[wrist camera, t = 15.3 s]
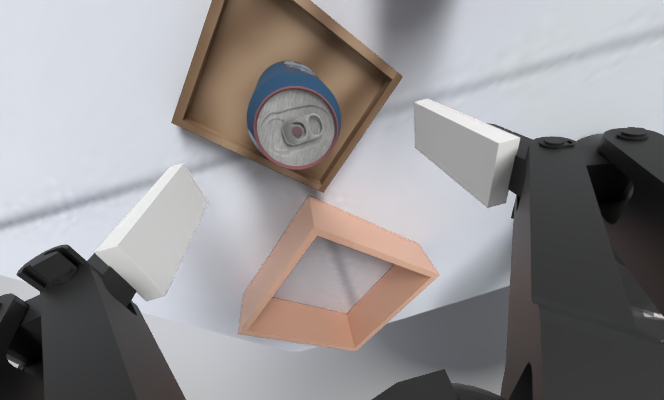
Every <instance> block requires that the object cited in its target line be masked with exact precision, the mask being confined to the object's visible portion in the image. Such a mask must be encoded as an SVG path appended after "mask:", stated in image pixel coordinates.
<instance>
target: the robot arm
mask: <svg viewBox="0 0 664 400" xmlns="http://www.w3.org/2000/svg"><path fill="white" fill-rule="evenodd" d="M414 124H415V148H416V149H417V150H418V151H420V152H421V153H422V154H423V155H424V156H426V157H427V158H428V159H429V160H430V161H432V162H433V163H434V164H435V165H437V166H438V167H439V168H440V169H441V170H443V171H444V172H445V173H446V174H447V175H449V176H450V177H451V178H452V179H453V180H455V181H456V182H457V183H458V184H459V185H461V186H462V187H463V188H464V189H465V190H467V191H468V192H469V193H470V194H471V195H473V196H474V197H475V198H476V199H477V200H479V201H480V202H481V203H482V204H483V205H485V206H486V207H487V208H489V207H493V206H496V205H500V204H503V203H506V200H507V196H508V191H509V190H510V191H512V192H513V193H515V194H516V195H517V196H516V200H515V204H514V208H513V212H512V216H511V218H513V219H514V224H513V242H512V260H511V278H510V295H509V313H508V314H509V315H508V333H507V349H506V364H505V372H504V377H503V382H502V388H501V396H499V395H496V394H494V393H492V392H489V391H487V390H484V389H480V388H477V387H474V386H470V385H464V384H459V383H458V384H457V383H451V382H450V380H449V378H448V376H447V374H446V372H445V370H444V369H443V370H440V371H436V372H433V373H429V374H426V375H422V376H419V377H415V378H412V379H409V380H405V381H401V382H398V383H396V384H394V385H393V386H391V387H390V388H388V389H387V390H385V391H384V392H382V393H381V394H380V395H378V396H377V397H375V398H374V399H372V400H664V136H663V135H662V134H659V133H657V132H654V131H650V130H645V129H644V128H636V127H628V128H619V129H611V130H609V131H606V132H605V133H604V134H596V135H592V136H588V137H586V138H583V139H581V140H579V141H577V142H576V141H574V140H571V139H568V138H563V137H541V138H536V139H534V140H532V139H530V138H527V137H525V136H522V135H520V134H517V133H515V132H512V131H510V130H507V129H504V128H502V127H500V126H497V125H495V124H489V123H484V122H482V121H480V120H477V119H475V118H472V117H470V116H468V115H465V114H463V113H460V112H458V111H456V110H453V109H451V108H448V107H446V106H444V105H441V104H439V103H436V102H434V101H432V100H429V99H424V100H420V101H416V102H414ZM207 205H208V202H207V200H206V198H205V197H204V195H203V193H202V192H201V190H200V188H199V187H198V185H197V183H196V182H195V180H194V179H193V177H192V175H191V174H190V172H189V170H188V169H187V167H186V165H185V164H184V163H182V164H178V165H174V166H171V167H170V168H169V169H168V170H167V171H166V172H165V173H164V174H163V175H162V177H161V178H160V179H159V180H158V181H157V182H156V183H155V184H154V186H153V187H152V188H151V189H150V190H149V191H148V192H147V193H146V195H145V196H144V197H143V198H142V199H141V200H140V201H139V202H138V203H137V205H136V206H135V207H134V208H133V209H132V210H131V211H130V212H129V214H128V215H127V216H126V217H125V218H124V219H123V220H122V221H121V223H120V224H119V225H118V226H117V227H116V228H115V229H114V230H113V232H112V233H111V234H110V235H109V236H108V237H107V238H106V239H105V241H104V242H103V243H102V244H101V245H100V246H99V247H98V248H97V250H96V251H95V252H94V254H93V255H92V256H91V258H90V259H89V260H88V261H86V260H85V259H84V258H82V257H81V256H80V255H79V254H78V253H77V252H76V251H75V250H73V249H72V248H71V247H70V246H69V245H60V246H57V247H54V248H52V249H50V250H47V251H45V252H43V253H41V254H40V255H38V256H36V257H35V258H33V259H32V260H30V261H29V262H28V263H26V264H25V265H24V266H23V267H22V268H21V269H20V270H19V271H18V273H17V276H19V277H20V278H22V279H23V280H24V281H26V282H27V283H29V284H30V285H32V286H33V287H35V288H36V289H37V290H39V291H40V295H38V296H36V297H34V298H32V299H29V300H27V301H25V302H24V301H23V300H21V299H20V298H18V297H17V296H15V295H13V294H5V295H2V296H0V400H186V399H185V397H184V395H183V393H182V391H181V389H180V387H179V385H178V383H177V381H176V379H175V378H174V376H173V374H172V372H171V370H170V368H169V366H168V364H167V362H166V360H165V358H164V356H163V354H162V352H161V351H160V349H159V347H158V345H157V343H156V341H155V339H154V337H153V335H152V333H151V331H150V329H149V327H148V325H147V324H146V322H145V320H144V318H143V316H142V314H141V312H140V310H139V308H138V306H137V305H135V304H134V303H133V302H132V301H131V300H132V298H133V296H134V295H135V293H136V292H137V293H138V294H139V295H140V296H141V297H142V298H143V299H144V300H146V301H149V300H152V299H156V298H160V297H163V296H166V294H167V292H168V289H169V287H170V285H171V283H172V281H173V279H174V276H175V274H176V272H177V270H178V268H179V266H180V263H181V261H182V259H183V257H184V255H185V253H186V250H187V248H188V246H189V244H190V242H191V240H192V237H193V235H194V233H195V231H196V229H197V227H198V224H199V222H200V220H201V218H202V216H203V214H204V211H205V209H206V207H207ZM8 360H10V361H12V362H14V363H16V364H19V366H18V368H16V367H14V366H12V365H11V364H10V363H9V362H8Z"/></svg>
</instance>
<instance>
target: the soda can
mask: <svg viewBox="0 0 664 400" xmlns="http://www.w3.org/2000/svg"><path fill="white" fill-rule="evenodd" d="M247 127H248V131H249V135H250V137H251V139H252V141H253V143H254V145H255V146H256V147H257V149H258V150H259V151H260V152H261V153H262V154H263V155H264V156H265V157H266V158H268V159H269V160H270V161H271V162H273V163H274V164H276V165H278V166H280V167H283V168H286V169H291V170H302V169H307V168H310V167H313V166H315V165H317V164H319V163H320V162H322V161H323V160H324V159H325V158H326V157H327V156H328V155H329V154H330V153H331V151H332V150H333V148H334V146H335V144H336V142H337V140H338V137H339V134H340V130H341V112H340V108H339V105H338V102H337V100H336V98H335V96H334V95H333V93H332V92H331V91H330V89H329V88H328V87H327V86H326V85H325V84H324V83H323V82H322V81H321V80H320V79H319V77H318V76H317V75H316V74H315V73H314V72H313V71H312V70H311V69H310V68H308V67H307V66H305V65H303V64H301V63H299V62H295V61H281V62H277V63H275V64H273V65H271V66H270V67H268V68H267V69H266V70H265V71H264V72H263V73H262V75H261V76H260V78H259V80H258V83H257V85H256V87H255V90H254V92H253V95H252V97H251V100H250V102H249V105H248V109H247Z"/></svg>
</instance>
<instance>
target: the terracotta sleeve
mask: <svg viewBox="0 0 664 400" xmlns="http://www.w3.org/2000/svg"><path fill="white" fill-rule="evenodd" d="M317 236H320V237H323V238H325V239H328V240H331V241H333V242H336V243H339V244H342V245H344V246H347V247H350V248H352V249H355V250H358V251H361V252H363V253H366V254H369V255H371V256H374V257H377V258H380V259H382V260H385V261H388V262H390V263H393V264H394V265H393V266H392V267H391V268H390V269H389V270H388V272H387V273H386V274H385V275H384V276H383V277H382V278H381V279H380V280H379V281H378V282H377V283H376V284H375V285H374V286H373V287H372V288H371V289H370V290H369V291H368V292H367V293H366V294H365V295H364V296H363V297H362V298H361V300H360V301H359V302H358V303H357V304H356V305H355V306H354V307H353V308H352V309H351V310H350V311H349V312H348V313H347V314H344V313H339V312H335V311H331V310H326V309H322V308H317V307H313V306H308V305H304V304H299V303H295V302H291V301H286V300H282V299H277V298H273V297H272V296H273V295H274V294H275V292H276V291H277V290H278V288H279V287H280V286H281V284H282V283H283V281H284V280H285V279H286V277H287V276H288V275H289V273H290V272H291V271H292V269H293V268H294V267H295V265H296V264H297V262H298V261H299V260H300V258H301V257H302V256H303V254H304V253H305V252H306V250H307V249H308V248H309V246H310V245H311V243H312V242H313V241H314V239H315V238H316V237H317ZM438 276H439V273H438V272H437V270H436V269H435V267H434V266H433V264H432V263H431V261H430V260H429V258H428V257H427V255H426V254H425V252H424V251H423V249H422V248H421V246H420V245H419V244H417V243H415V242H413V241H411V240H408V239H406V238H404V237H401V236H399V235H397V234H395V233H392V232H390V231H388V230H386V229H383V228H381V227H379V226H376V225H374V224H372V223H370V222H367V221H365V220H363V219H360V218H358V217H356V216H354V215H351V214H349V213H347V212H345V211H342V210H340V209H338V208H335V207H333V206H331V205H329V204H326V203H324V202H322V201H320V200H317V199H315V198H313V197H310V196H308V197H307V199H306V200H305V202H304V203H303V205H302V206H301V208H300V209H299V211H298V212H297V214H296V215H295V217H294V218H293V220H292V222H291V223H290V225H289V226H288V228H287V229H286V231H285V232H284V234H283V235H282V237H281V238H280V240H279V241H278V243H277V244H276V246H275V247H274V249H273V250H272V252H271V253H270V255H269V256H268V258H267V259H266V261H265V263H264V264H263V266H262V267H261V269H260V270H259V272H258V273H257V275H256V276H255V278H254V279H253V281H252V282H251V284H250V285H249V287H248V288H247V290H246V291H245V293H244V294H243V300H242V307H241V315H240V322H239V330H238V334H242V335H249V336H256V337H262V338H269V339H276V340H282V341H289V342H296V343H303V344H309V345H316V346H323V347H329V348H336V349H343V350H350V351H357V350H358V349H359V348H360V347H361V346H362V345H363V344H364V343H366V342H367V341H368V340H369V339H370V338H371V337H372V336H373V335H374V334H376V333H377V332H378V331H379V330H380V329H381V328H382V327H383V326H384V325H385V324H387V323H388V322H389V321H390V320H391V319H392V318H393V317H394V316H395V315H396V314H398V313H399V312H400V311H401V310H402V309H403V308H404V307H405V306H406V305H407V304H409V303H410V302H411V301H412V300H413V299H414V298H415V297H416V296H417V295H418V294H419V293H421V292H422V291H423V290H424V289H425V288H426V287H427V286H428V285H429V284H430V283H432V282H433V281H434V280H435V279H436V278H437V277H438Z"/></svg>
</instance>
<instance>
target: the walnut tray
mask: <svg viewBox="0 0 664 400" xmlns="http://www.w3.org/2000/svg"><path fill="white" fill-rule="evenodd" d="M281 61H295V62H299V63H301V64H303V65H305V66H307V67H308V68H310V69H311V70H312V71H313V72H314V73H315V74H316V75H317V76H318V77H319V79H320V80H321V81H322V82H323V83H324V84H325V85H326V86H327V87H328V88H329V89H330V91H331V92H332V93H333V95H334V96H335V98H336V100H337V102H338V105H339V108H340V112H341V130H340V134H339V137H338V140H337V142H336V144H335V146H334V148H333V150H332V151H331V153H330V154H329V155H328V156H327V157H326V158H325V159H324V160H323V161H322V162H320V163H319V164H317V165H315V166H313V167H310V168H307V169H302V170H291V169H286V168H283V167H280V166H278V165H276V164H274V163H273V162H271V161H270V160H269V159H268V158H266V157H265V156H264V155H263V154H262V153H261V152H260V151H259V150H258V149H257V147H256V146H255V145H254V143H253V141H252V139H251V137H250V135H249V131H248V127H247V109H248V105H249V102H250V100H251V97H252V95H253V92H254V90H255V87H256V85H257V83H258V80H259V78H260V76H261V75H262V73H263V72H264V71H265V70H266V69H267V68H268V67H270V66H271V65H273V64H275V63H277V62H281ZM402 77H403V76H401V75H400V74H399V73H398V72H397V71H395V70H394V69H393V68H392V67H390V66H389V65H388V64H387V63H386V62H384V61H383V60H382V59H381V58H380V57H378V56H377V55H376V54H375V53H373V52H372V51H371V50H370V49H369V48H367V47H366V46H365V45H364V44H363V43H361V42H360V41H359V40H358V39H356V38H355V37H354V36H353V35H352V34H350V33H349V32H348V31H347V30H346V29H344V28H343V27H342V26H341V25H340V24H338V23H337V22H336V21H335V20H333V19H332V18H331V17H330V16H329V15H327V14H326V13H325V12H324V11H323V10H321V9H320V8H319V7H318V6H316V5H315V4H314V3H313V2H312V1H310V0H212V2H211V5H210V8H209V11H208V14H207V17H206V20H205V23H204V26H203V29H202V32H201V35H200V38H199V41H198V44H197V47H196V50H195V53H194V56H193V59H192V62H191V65H190V68H189V71H188V74H187V77H186V80H185V83H184V86H183V89H182V92H181V95H180V98H179V101H178V104H177V107H176V110H175V113H174V116H173V119H172V122H171V123H173V124H175V125H177V126H179V127H181V128H184V129H186V130H188V131H190V132H192V133H194V134H197V135H199V136H201V137H203V138H205V139H208V140H210V141H212V142H214V143H216V144H218V145H221V146H223V147H225V148H227V149H229V150H232V151H234V152H236V153H238V154H240V155H242V156H245V157H247V158H249V159H251V160H253V161H255V162H258V163H260V164H262V165H264V166H266V167H269V168H271V169H273V170H275V171H277V172H279V173H282V174H284V175H286V176H288V177H290V178H293V179H295V180H297V181H299V182H301V183H303V184H306V185H308V186H310V187H312V188H314V189H317V190H319V191H321V192H323V193H324V191H325V190H326V188H327V187H328V185H329V184H330V182H331V181H332V179H333V178H334V176H335V175H336V174H337V172H338V171H339V169H340V168H341V166H342V165H343V163H344V162H345V160H346V159H347V158H348V156H349V155H350V153H351V152H352V150H353V149H354V147H355V146H356V144H357V143H358V141H359V140H360V139H361V137H362V136H363V134H364V133H365V131H366V130H367V128H368V127H369V125H370V124H371V122H372V121H373V120H374V118H375V117H376V115H377V114H378V112H379V111H380V109H381V108H382V106H383V105H384V103H385V102H386V101H387V99H388V98H389V96H390V95H391V93H392V92H393V90H394V89H395V87H396V86H397V84H398V83H399V82H400V80H401V79H402Z"/></svg>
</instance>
